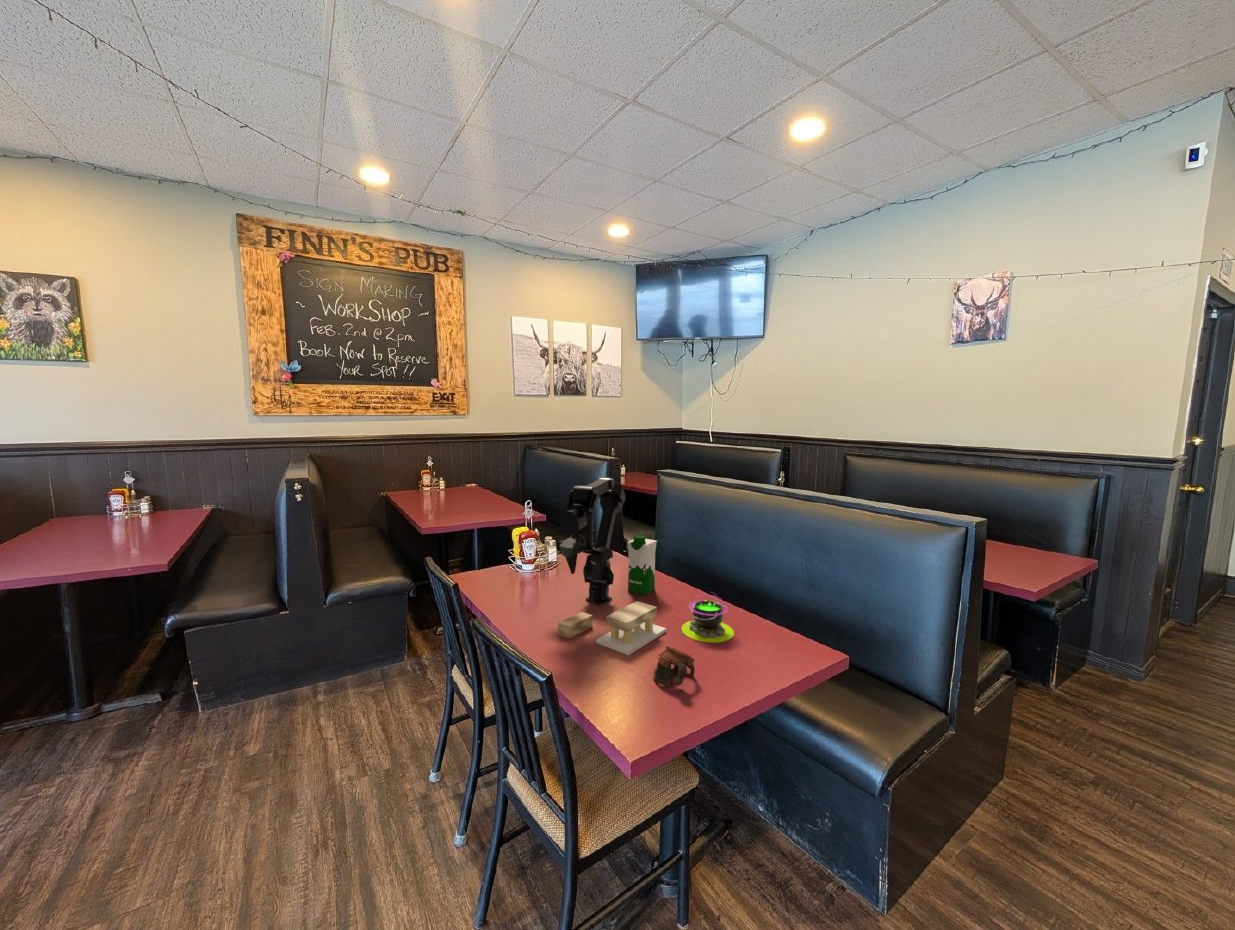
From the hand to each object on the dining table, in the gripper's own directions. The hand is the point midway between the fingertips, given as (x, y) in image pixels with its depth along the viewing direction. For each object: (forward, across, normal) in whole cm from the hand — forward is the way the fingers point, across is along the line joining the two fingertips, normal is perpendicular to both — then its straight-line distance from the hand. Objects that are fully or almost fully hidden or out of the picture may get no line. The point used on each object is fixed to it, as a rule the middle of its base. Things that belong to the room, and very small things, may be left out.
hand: (583, 576), depth 155 cm
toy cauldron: (+12, +35, +14) cm, 40 cm away
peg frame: (+12, +21, -3) cm, 24 cm away
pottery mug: (+12, +42, -14) cm, 46 cm away
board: (+7, +21, -3) cm, 22 cm away
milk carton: (+12, +2, +28) cm, 31 cm away
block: (+12, +6, -10) cm, 17 cm away
